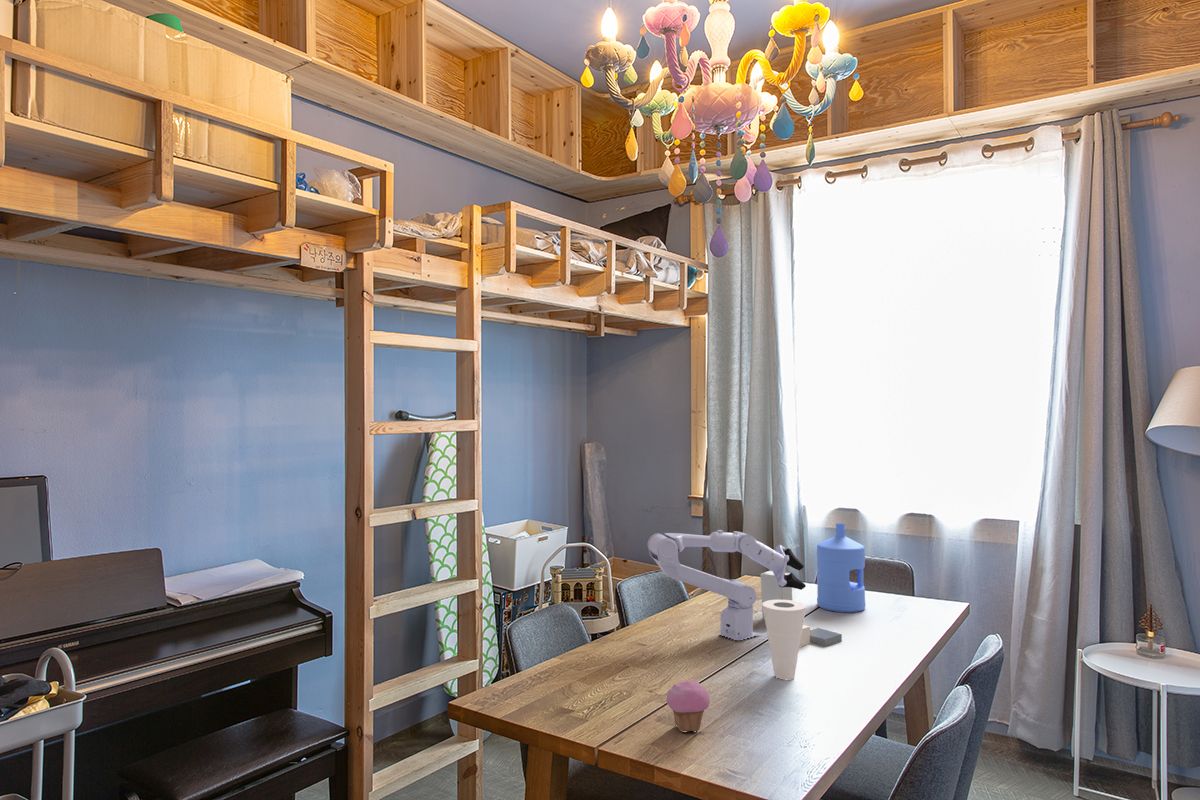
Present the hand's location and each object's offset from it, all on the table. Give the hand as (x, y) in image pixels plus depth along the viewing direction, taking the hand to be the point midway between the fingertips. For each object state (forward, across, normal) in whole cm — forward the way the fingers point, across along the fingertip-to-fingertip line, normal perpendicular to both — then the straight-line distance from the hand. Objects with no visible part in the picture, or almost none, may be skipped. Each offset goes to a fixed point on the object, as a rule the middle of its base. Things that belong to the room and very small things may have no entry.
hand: (802, 577), depth 228 cm
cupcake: (-43, -72, -8) cm, 84 cm away
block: (+1, -20, +5) cm, 21 cm away
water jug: (+31, +15, +15) cm, 37 cm away
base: (+8, -17, +3) cm, 19 cm away
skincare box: (+6, -1, +20) cm, 21 cm away
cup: (-13, -43, -4) cm, 46 cm away
